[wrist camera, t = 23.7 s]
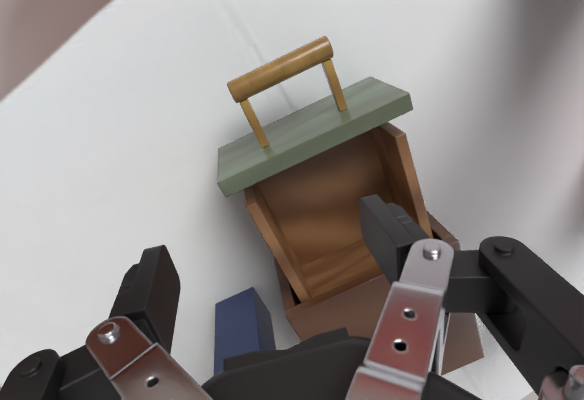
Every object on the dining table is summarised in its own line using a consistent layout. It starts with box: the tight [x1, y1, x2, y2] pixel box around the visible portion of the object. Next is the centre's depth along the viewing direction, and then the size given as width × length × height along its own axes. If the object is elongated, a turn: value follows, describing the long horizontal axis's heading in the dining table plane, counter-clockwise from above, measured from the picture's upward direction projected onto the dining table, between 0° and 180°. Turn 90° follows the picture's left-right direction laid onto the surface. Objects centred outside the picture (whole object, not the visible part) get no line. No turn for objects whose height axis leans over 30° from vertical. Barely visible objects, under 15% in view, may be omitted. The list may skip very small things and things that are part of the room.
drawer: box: [217, 36, 434, 303], centre depth 28 cm, size 20×14×7 cm
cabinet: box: [274, 210, 484, 376], centre depth 36 cm, size 16×15×9 cm
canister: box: [214, 287, 276, 375], centre depth 34 cm, size 4×4×10 cm
